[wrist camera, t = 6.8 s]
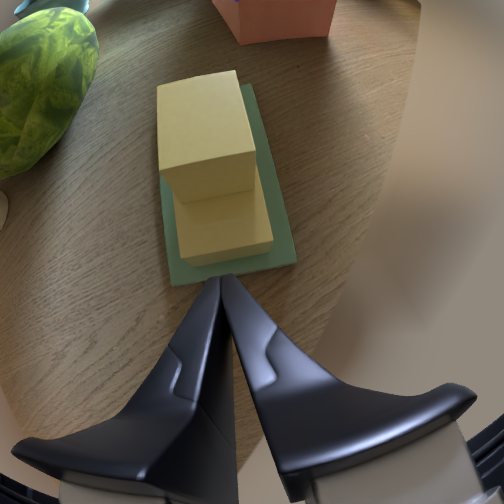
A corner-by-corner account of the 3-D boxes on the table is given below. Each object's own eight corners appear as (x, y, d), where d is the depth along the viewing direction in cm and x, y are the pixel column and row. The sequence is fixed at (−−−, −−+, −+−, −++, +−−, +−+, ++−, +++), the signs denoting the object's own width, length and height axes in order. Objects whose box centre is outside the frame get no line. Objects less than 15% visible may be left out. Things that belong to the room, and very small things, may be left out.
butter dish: (295, 263, 20) (307, 251, 16) (174, 287, 20) (154, 280, 16) (251, 90, 24) (251, 56, 19) (159, 108, 23) (146, 77, 19)
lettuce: (138, 62, 28) (99, -24, 15) (83, 160, 18) (-11, 15, 5) (52, 107, 30) (10, 40, 17) (-11, 213, 20) (-86, 129, 7)
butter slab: (255, 190, 17) (256, 151, 12) (180, 204, 17) (158, 171, 12) (238, 115, 18) (235, 69, 14) (173, 128, 18) (156, 86, 13)
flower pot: (31, 58, 28) (6, 23, 17) (38, 29, 31) (20, 0, 20) (106, 11, 29) (89, -31, 19) (101, -8, 32) (88, -40, 21)
